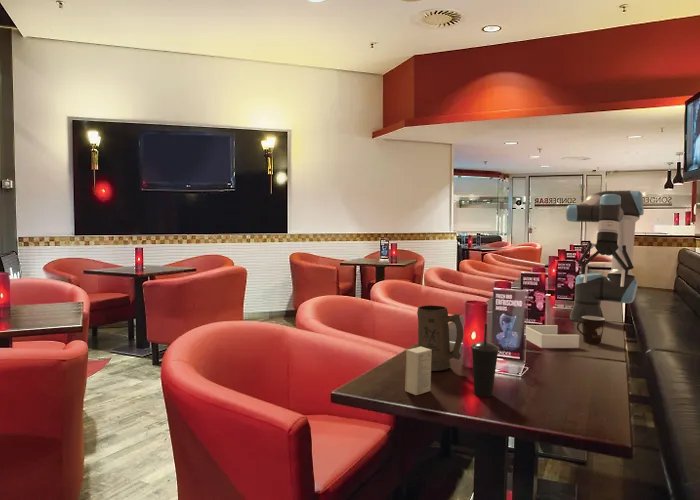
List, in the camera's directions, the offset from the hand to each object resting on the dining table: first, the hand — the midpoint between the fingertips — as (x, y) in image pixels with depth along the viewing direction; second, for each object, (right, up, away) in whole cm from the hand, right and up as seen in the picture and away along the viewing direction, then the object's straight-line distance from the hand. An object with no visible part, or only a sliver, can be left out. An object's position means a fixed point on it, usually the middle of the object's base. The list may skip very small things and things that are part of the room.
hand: (603, 284), depth 208 cm
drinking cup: (-64, -27, -63) cm, 94 cm away
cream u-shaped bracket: (-22, -23, 0) cm, 32 cm away
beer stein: (-73, -25, -38) cm, 86 cm away
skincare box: (-83, -26, -61) cm, 106 cm away
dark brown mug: (-5, -24, +2) cm, 24 cm away
